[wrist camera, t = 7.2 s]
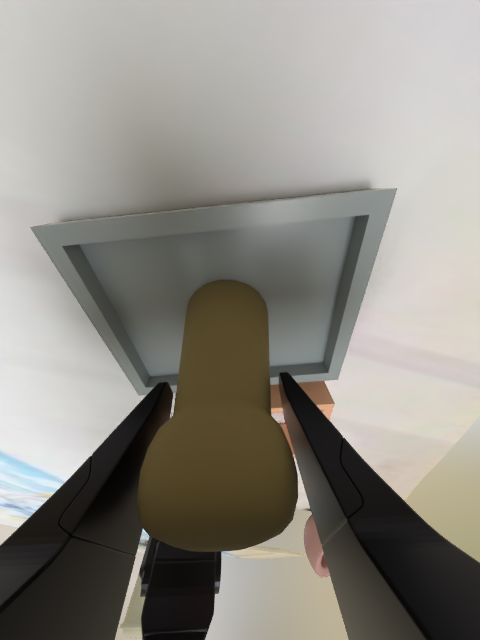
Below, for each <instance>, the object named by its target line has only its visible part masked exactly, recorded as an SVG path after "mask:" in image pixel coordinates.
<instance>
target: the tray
mask: <svg viewBox="0 0 480 640" xmlns="http://www.w3.org/2000/svg"><path fill="white" fill-rule="evenodd" d="M396 191H397V188H393V189H366V190H357V191H348V192H338V193H329V194H319V195H310V196H300V197H291V198H282V199H272V200H263V201H253V202H244V203H234V204H225V205H216V206H206V207H197V208H187V209H178V210H168V211H159V212H149V213H140V214H131V215H121V216H112V217H102V218H93V219H83V220H74V221H65V222H57V223H52V224H46V225H40V226H34V227H30V228H31V229H32V231H33V233H34V234H35V236H36V237H37V239H38V240H39V242H40V243H41V245H42V246H43V248H44V249H45V251H46V253H47V254H48V256H49V257H50V259H51V260H52V262H53V263H54V265H55V266H56V268H57V270H58V271H59V273H60V274H61V276H62V277H63V279H64V280H65V282H66V283H67V285H68V287H69V288H70V290H71V291H72V293H73V294H74V296H75V297H76V299H77V300H78V302H79V304H80V305H81V307H82V308H83V310H84V311H85V313H86V314H87V316H88V317H89V319H90V321H91V322H92V324H93V325H94V327H95V328H96V330H97V331H98V333H99V334H100V336H101V337H102V339H103V341H104V342H105V344H106V345H107V347H108V348H109V350H110V351H111V353H112V354H113V356H114V358H115V359H116V361H117V362H118V364H119V365H120V367H121V368H122V370H123V371H124V373H125V375H126V376H127V378H128V379H129V381H130V382H131V384H132V385H133V387H134V388H135V390H136V392H137V393H138V395H147V394H148V393H149V392H150V391H151V390H152V389H153V388H154V387H155V386H156V385H157V384H158V383H159V382H168V383H169V385H170V387H171V389H172V392H173V393H175V392H176V390H177V382H178V374H179V366H180V358H181V350H182V342H183V334H184V325H185V317H186V311H187V306H188V302H189V300H190V298H191V297H192V296H193V294H194V293H195V291H197V290H198V289H200V288H201V287H203V286H204V285H205V284H208V283H211V282H215V281H218V280H235V281H238V282H241V283H245V284H248V285H249V286H251V287H252V288H253V289H255V290H256V291H258V292H259V293H260V295H261V296H262V298H263V299H264V300H265V302H266V306H267V310H268V324H269V357H270V385H276V384H279V373H280V372H288V373H289V374H290V375H291V376H292V377H293V378H294V380H295V381H296V382H297V383H301V382H314V381H326V380H338V377H339V374H340V371H341V368H342V364H343V361H344V358H345V355H346V351H347V348H348V345H349V342H350V339H351V335H352V332H353V329H354V326H355V323H356V319H357V316H358V313H359V310H360V306H361V303H362V300H363V297H364V294H365V290H366V287H367V284H368V281H369V278H370V274H371V271H372V268H373V265H374V261H375V258H376V255H377V252H378V249H379V245H380V242H381V239H382V236H383V233H384V229H385V226H386V223H387V220H388V217H389V213H390V210H391V207H392V204H393V200H394V197H395V194H396Z"/></svg>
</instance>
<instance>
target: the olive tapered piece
mask: <svg viewBox="0 0 480 640" xmlns="http://www.w3.org/2000/svg"><path fill="white" fill-rule="evenodd" d="M297 499H298V476H297V470H296V466H295V462H294V457H293V453H292V450H291V447H290V445H289V442H288V440H287V438H286V436H285V433H284V431H283V429H282V427H281V426H280V425H279V424H278V423H277V422H276V421H275V419H274V418H273V417H272V416H271V390H270V357H269V324H268V310H267V306H266V302H265V300H264V299H263V298H262V296H261V295H260V293H259V292H258V291H256V290H255V289H253V288H252V287H251V286H249V285H248V284H245V283H241V282H238V281H235V280H218V281H215V282H211V283H208V284H205V285H204V286H203V287H201V288H200V289H198V290H197V291H195V293H194V294H193V296H192V297H191V298H190V300H189V302H188V306H187V311H186V317H185V325H184V334H183V342H182V350H181V358H180V366H179V374H178V382H177V390H176V398H175V406H174V414H173V416H172V417H171V418H170V419H169V420H168V421H167V422H166V423H165V424H164V425H163V426H161V427H160V428H159V429H158V431H157V433H156V435H155V437H154V438H153V440H152V442H151V444H150V445H149V447H148V450H147V453H146V456H145V459H144V461H143V464H142V467H141V471H140V478H139V487H138V495H137V506H138V513H139V519H140V525H141V526H142V527H143V529H144V530H145V531H146V532H147V533H148V535H149V536H151V537H153V538H155V539H157V540H159V541H161V542H164V543H166V544H168V545H171V546H173V547H177V548H180V549H184V550H188V551H197V552H217V551H233V550H241V549H245V548H248V547H251V546H254V545H257V544H260V543H262V542H265V541H267V540H269V539H270V538H273V537H275V536H277V535H279V534H280V533H282V532H283V530H284V529H285V528H286V527H287V526H288V524H289V523H290V522H291V521H292V520H293V516H294V512H295V508H296V503H297Z"/></svg>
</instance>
